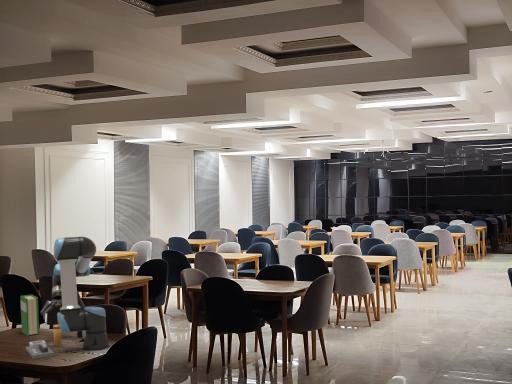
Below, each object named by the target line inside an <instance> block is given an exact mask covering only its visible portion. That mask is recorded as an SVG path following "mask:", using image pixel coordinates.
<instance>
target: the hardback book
mask: <svg viewBox="0 0 512 384" xmlns="http://www.w3.org/2000/svg"><path fill="white" fill-rule="evenodd" d="M19 300H20V319H21V321H20V323H21V325H20V326H21V333H22V334H24V335H25V336H26V337H29V336H30V335H31V336H32V335H36V336H38V335H40V321H39V320H40V318H39V298H38V296H35V295H33V294H26V295H25V294H24V295H20V299H19Z"/></svg>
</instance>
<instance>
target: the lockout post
mask: <svg viewBox="0 0 512 384" xmlns="http://www.w3.org/2000/svg"><path fill="white" fill-rule="evenodd" d="M52 330H53V346H54V347H61V346H62V345H63V344H62V342H63V341H62V332H61V330H60V328H59V324H58V323H57V324H53V326H52Z"/></svg>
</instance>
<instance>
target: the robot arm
mask: <svg viewBox="0 0 512 384" xmlns="http://www.w3.org/2000/svg"><path fill="white" fill-rule="evenodd" d="M53 244H54V246H53V259H56V262H57V263H56V264H55V265H54V268H53V275H52V288H51V291H52V292H51V301H50V300H48V299H47V300H46V302H45V305H44V306H43V307H42V309H41V310H40V315H41V316H43V320H44V324H45V325H46V326H47V325H48V323H47V322H48V314H49V313H50V312H51V311H52V310H53V309H54V308H59V312H57V314H56V316H57V325H58V324H59V328H60V330H61V333H63V334H65V333H74V332H76V333H77V332H78V331H84V330H85V331H86V335H85V338H83V339H84V340H83V343H82V349H83V350H87V351H97V350H105V349H108V348H109V347H110V345H111V342H110V340H109V337H108V334H107V324H106V323H107V321H106V320H107V319H106V317H107V315H106V309H105V308H104V307H100V306H85V307H84V308H83V309H82V308H81V306H80V305H79V303H78V301H79V300H78V291H77V287H78V286H77V278H80V277H81V278H82V277H88V276H90V274H91V267H90V263H91V261H92V259H93V258H94V257H95V255H96V252H97V246H96V243H95V242H94V241H93V240H92V239H91V238H89V237H86V236H71V237H70V236H68V237H67V236H66V237H65V236H64V237H58V238H56V239H55V241H54V243H53ZM49 305H50V306H49ZM81 309H82V310H81Z"/></svg>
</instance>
